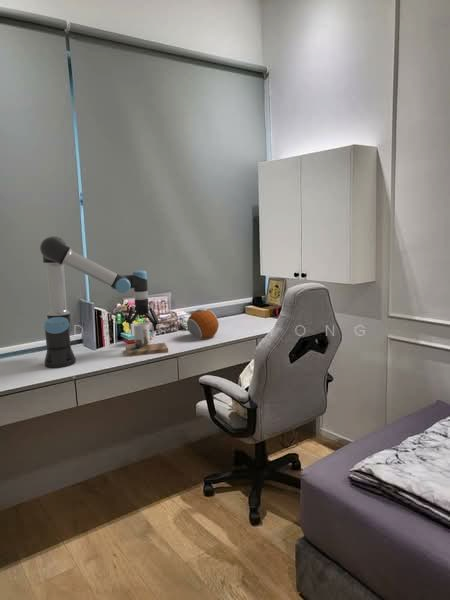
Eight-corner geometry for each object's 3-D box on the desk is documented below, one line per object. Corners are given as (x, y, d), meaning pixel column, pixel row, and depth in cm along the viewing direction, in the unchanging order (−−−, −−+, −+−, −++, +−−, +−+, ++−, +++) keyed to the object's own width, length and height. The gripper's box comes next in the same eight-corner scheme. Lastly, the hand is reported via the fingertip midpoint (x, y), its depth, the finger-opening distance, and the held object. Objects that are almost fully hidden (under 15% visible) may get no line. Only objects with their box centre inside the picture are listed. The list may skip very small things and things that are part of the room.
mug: (137, 345, 277) (136, 326, 275) (132, 342, 284) (131, 324, 282) (157, 342, 282) (156, 324, 280) (151, 339, 290) (150, 321, 288)
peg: (134, 350, 258) (132, 334, 256) (129, 349, 259) (128, 333, 258) (149, 344, 269) (148, 329, 267) (145, 343, 270) (144, 328, 269)
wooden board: (127, 356, 255) (127, 352, 255) (125, 350, 267) (125, 346, 267) (168, 351, 261) (167, 348, 260) (164, 346, 273) (164, 342, 273)
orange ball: (224, 336, 290) (223, 308, 287) (200, 342, 279) (199, 313, 277) (206, 331, 305) (205, 304, 302) (183, 336, 295) (181, 308, 292)
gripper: (164, 298, 264) (166, 335, 267) (125, 296, 272) (127, 332, 276) (158, 300, 257) (159, 338, 260) (118, 298, 265) (120, 335, 269)
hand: (143, 335), depth 268 cm, fingers open, 13 cm apart
